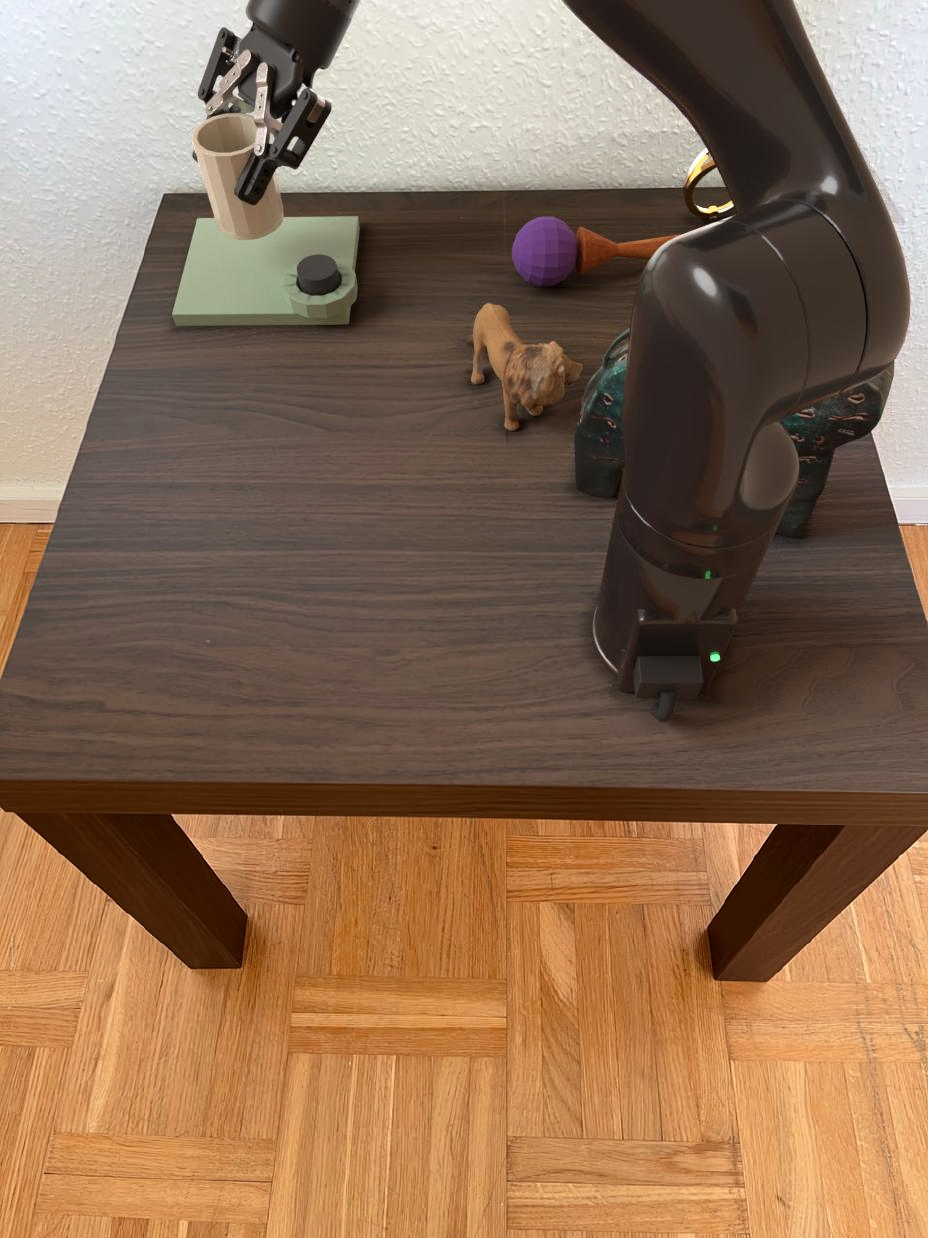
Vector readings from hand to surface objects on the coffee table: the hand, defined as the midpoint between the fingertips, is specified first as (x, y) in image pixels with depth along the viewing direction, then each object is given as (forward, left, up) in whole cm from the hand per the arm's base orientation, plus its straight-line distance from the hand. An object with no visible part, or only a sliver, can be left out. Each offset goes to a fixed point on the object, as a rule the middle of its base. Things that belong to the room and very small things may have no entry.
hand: (223, 181), depth 79 cm
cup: (+1, -1, -4) cm, 5 cm away
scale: (0, -2, -10) cm, 10 cm away
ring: (+8, -45, -10) cm, 47 cm away
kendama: (0, -35, -10) cm, 37 cm away
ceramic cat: (-28, -39, -10) cm, 49 cm away
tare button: (-4, -8, -7) cm, 11 cm away
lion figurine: (-16, -25, -10) cm, 31 cm away
